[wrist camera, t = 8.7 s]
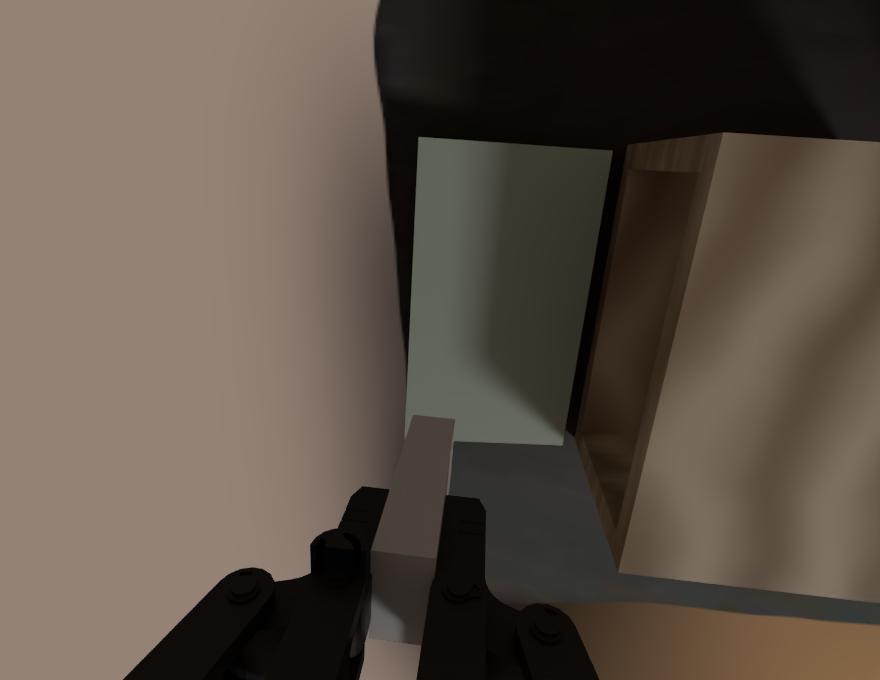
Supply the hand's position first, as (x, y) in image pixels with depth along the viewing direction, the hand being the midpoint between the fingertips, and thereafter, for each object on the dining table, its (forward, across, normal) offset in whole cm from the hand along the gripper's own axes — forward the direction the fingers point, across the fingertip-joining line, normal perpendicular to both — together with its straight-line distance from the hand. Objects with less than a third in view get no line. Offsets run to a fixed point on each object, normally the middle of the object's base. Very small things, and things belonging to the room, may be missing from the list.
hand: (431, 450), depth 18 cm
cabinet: (+21, -17, 0) cm, 27 cm away
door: (+20, -8, 0) cm, 21 cm away
